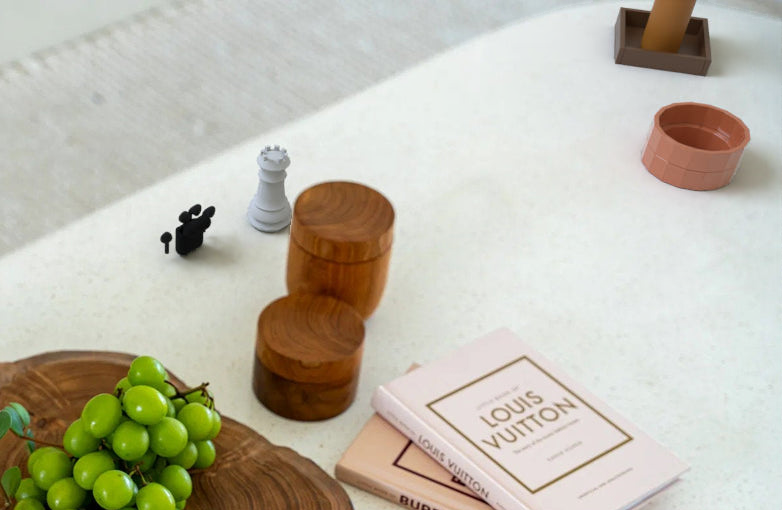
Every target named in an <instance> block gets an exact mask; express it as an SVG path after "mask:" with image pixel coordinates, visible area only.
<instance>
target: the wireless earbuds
mask: <svg viewBox="0 0 782 510" xmlns="http://www.w3.org/2000/svg"><path fill="white" fill-rule="evenodd" d="M202 209H203V208H202V204H201V203H196V204H194V205H192V206H191V207H189V209H188V210H183V211H182V212H180V214H179V215H178V222H179V223H181V225H180V224H179V226H177V227H176V228H175V236H174V237H175V238H174V239H175V240H174V250H175V252H176V253H177V254H178V255H179V256H182V257H183V256H184V257H185V256H188V255H189V254H191V253H193V252H194V251H196V250H197V249H199V248H201V247H202V246H203V243H204V234H205V233H206V231H207V230H208V229H209V228H210V227H211V225H212V219H211V218H214V216H215V214H216V207H215V206H214V205H209V206H208V207H206V208H204V210H203V211H202ZM201 212H202V214H201ZM200 214H201V215H200ZM193 216H194V218H193ZM159 240H160V243H161V244H164V254H165V255H169V254H170V243H171V242H172V241H173V235H172V233H171V232H169V231H165V232H163V233H162V234H161V235H160V238H159Z"/></svg>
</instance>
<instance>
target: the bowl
mask: <svg viewBox="0 0 782 510" xmlns="http://www.w3.org/2000/svg"><path fill="white" fill-rule="evenodd" d="M650 123H651V124H650V126H649V129H648V131H647V135H646V138H645V140H644V142H643V145H642V148H641V151H640V155H641V157H640V160H641V161H640V162H641V163H642V165H643V166H644V167H645V169H646V171H647V172H648V173H650V174H651V175H652V176H654V177H655V178H657V179H658V180H659V181H661V182H663V183H666V184H668V185H671V186H674V187H676V188H680V189H686V190H690V191H691V190H692V191H698V192H700V191H712V190H713V191H714V190H718V189H720V188H722V187H726V186H728V185H729V184H730V183H731V182H732V180H733V179H734V178H735V176H736V174H737V173H738V170H739V167H740V165H741V164H742V161H743V158H744V155H745V153H746V151H747V149H748V147H749V145H750V142H751V140H752V139H751V131H750V128H749V127H748V125H746V123H745V122H744V121H743V120H742V119H741V117H738V116H737V115H735V114H733V113H732V112H730V111H728V110H726V109H723V108H720V107H717V106H715V105H712V104H708V103H701V102H695V101H684V102H673V103H670V104H667V105H664V106H662V107H660V108H659V109H658V111H656V113H655V114H654V115H653V118H652V120H651V122H650Z"/></svg>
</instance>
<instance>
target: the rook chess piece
mask: <svg viewBox="0 0 782 510" xmlns="http://www.w3.org/2000/svg"><path fill="white" fill-rule="evenodd" d="M280 146H281V145H278V144H274V148H272V147H271V145H270V144H267V145H265V146H264V148H261V150H260V154H258V155H257V157H256V160H255V161H256V164H257V165H258V167H259V170H258V171H257V176H258V178H259V181H258V186H257V190H256V193H255V194H253V197H252V198H251V199H250V201H249V204H248V206H247V210H248V211H247V212H246V219H247V221H248V223H249V224H250V225H251V226H252V227H253V228H254V229H256V230H258V231H261V232H266V233H275V232H279V231H282V230H283V229H284V228H286V226H288V225H289V224H290V223H291V220H292V207H291V203H290V201H289V200H288V196H286V190H285V189H286V188H285V180H286V179H287V177H288V172H287V171H286V169H288V168H289V167H290V166H291V158H290V156H289V154H288V152H287V151H288V150H287V149H286V148H285V147H280ZM280 148H281V149H280ZM290 219H291V220H290Z"/></svg>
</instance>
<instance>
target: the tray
mask: <svg viewBox="0 0 782 510" xmlns="http://www.w3.org/2000/svg"><path fill="white" fill-rule="evenodd" d="M650 13H651V10H647V9H638V8H633V7H632V8H631V7H625V6H624V7H623V6H620V8H619V11H618V14H617V17H616V20H615V24H614V47H613V60H614V64H615V65H620V66H627V67H634V68H635V67H636V68H641V69H642V68H643V69H649V70H657V71H663V72H670V73H677V74H685V75H691V76H698V77H707V74H708V71H709V69H710V66H711V64H712V61H713V59H712V50H711V39H710V38H711V37H710V30H709V28H710V27H709V18H706V17H698V16H692V15H691V17H690V20H689V23H688V26H687V29H686V31H685V34H684V37H683V40H682V43H681V45H680V48H679V51H678V53H670V52H662V51H655V50H648V49H641V48H640V43H641V40H642V37H643V34H644V31H645V28H646V25H647V22H648V19H649V16H650Z"/></svg>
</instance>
